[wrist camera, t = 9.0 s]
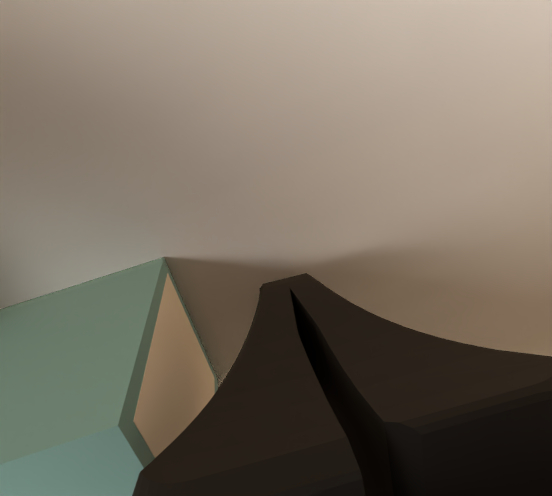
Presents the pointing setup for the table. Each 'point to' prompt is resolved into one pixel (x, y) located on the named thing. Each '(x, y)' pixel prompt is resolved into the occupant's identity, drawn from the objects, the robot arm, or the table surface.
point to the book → (97, 383)
